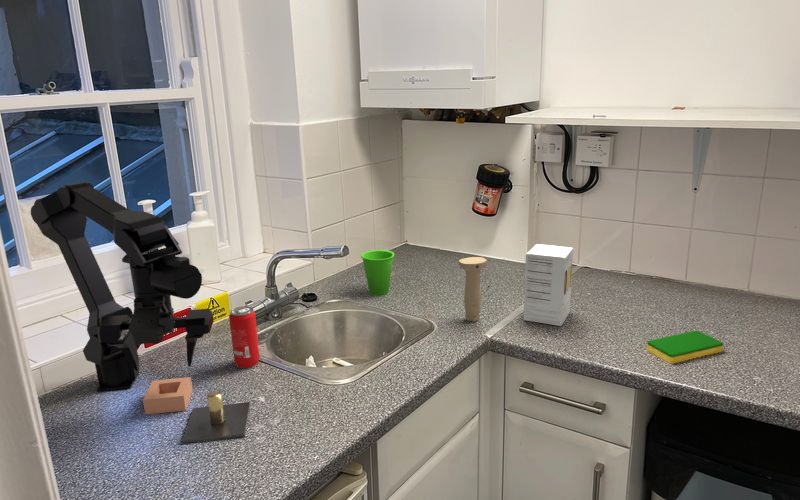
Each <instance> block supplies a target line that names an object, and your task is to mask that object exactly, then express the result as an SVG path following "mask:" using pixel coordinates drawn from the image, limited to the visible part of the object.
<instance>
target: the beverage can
mask: <svg viewBox="0 0 800 500" xmlns="http://www.w3.org/2000/svg"><path fill="white" fill-rule="evenodd" d="M228 319H229V321H228V322H229V329H230V336H231V344H232V353H233V360H234V363H235V364H236V366H237V367H238V368H239V369H251V368H253V367H256V366H257V365H258V364H259V361H260V347H259V346H260V345H259V338H258V331H257V329H258V328H257V320H256V312H255V310H254V308H253V307H252V306H247V305H244V306H243V305H242V306H238V307H234V308H232V309H231V310H229V315H228Z"/></svg>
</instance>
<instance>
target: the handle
mask: <svg viewBox="0 0 800 500" xmlns="http://www.w3.org/2000/svg"><path fill="white" fill-rule="evenodd" d="M458 261H459V262H458V265H459V267H460V268H461V269H463V270H464V271H465V277H464V280H465V283H464V296H463V298H464V299H463V301H464V303H463V305H464V312H465V314H464V315H465V320H467V322H475V323H476V322H477V321H479V320H480V316H481V314H480V313H481V306H482V290H481V270H482V269H484V268H485V267H486V266H487V263H488V262H487V259H486V258H484V257H482V256H472V257H464V258H460V259H459V260H458Z"/></svg>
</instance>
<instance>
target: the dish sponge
mask: <svg viewBox="0 0 800 500" xmlns="http://www.w3.org/2000/svg"><path fill="white" fill-rule="evenodd" d="M723 345H724V343H723V342H722V341H720V340H717V339H716V338H714V337H711V336H709V335H707V334H705V332H702V331H699V330H693V331H689V332H687V331H686V332H683V333H679V334H673V335H669V336H666V337H660V338H655V339H651V340H647V345H646V351H647V352H649V353H651V354H653V355H655V356H656V357H658V358H659V359H661V360H663V361H665V362H667V363H669V364H670V365H671V364H672V365H673V364H677V363H681V362H685V360H686V361H690V360H694V359H697V358H696V357H698V358H701V356H703V357H706V356H705V355H707V356H710V354H711V355H715V354H718V352H719V353H722V352H723V348H724V346H723ZM714 353H715V354H714ZM693 358H694V359H693ZM689 359H690V360H689Z"/></svg>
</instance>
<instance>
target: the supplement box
mask: <svg viewBox="0 0 800 500" xmlns="http://www.w3.org/2000/svg"><path fill="white" fill-rule="evenodd" d="M573 259H574V247H569V246H561V245H560V246H559V245H550V244H542V243H541V244H539V243H536V244H535V245H534V246H533V247H532V248H531V249H530V250H529V251H528V252H526V253H525V264H524V265H525V266H524V267H525V269H524V270H525V271H524V298H523V299H524V300H523V302H524V303H523V321H528V322H533V323H538V324H539V323H541V324H546V325H550V326H551V325H553V326H558V327H562V325H563V324H564V322H565V320H567V318H568V316H569V314H570V313H571V312H570V311H571V294H572V293H571V291H572V275H573V261H574V260H573Z"/></svg>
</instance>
